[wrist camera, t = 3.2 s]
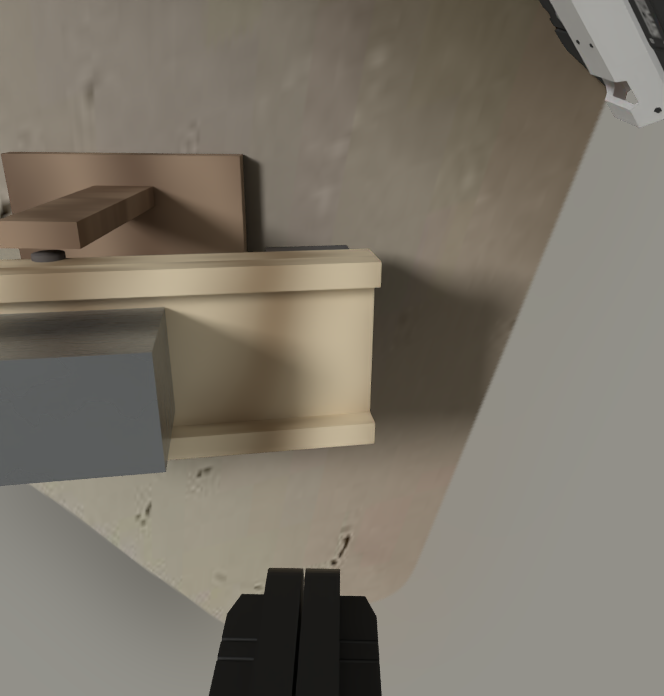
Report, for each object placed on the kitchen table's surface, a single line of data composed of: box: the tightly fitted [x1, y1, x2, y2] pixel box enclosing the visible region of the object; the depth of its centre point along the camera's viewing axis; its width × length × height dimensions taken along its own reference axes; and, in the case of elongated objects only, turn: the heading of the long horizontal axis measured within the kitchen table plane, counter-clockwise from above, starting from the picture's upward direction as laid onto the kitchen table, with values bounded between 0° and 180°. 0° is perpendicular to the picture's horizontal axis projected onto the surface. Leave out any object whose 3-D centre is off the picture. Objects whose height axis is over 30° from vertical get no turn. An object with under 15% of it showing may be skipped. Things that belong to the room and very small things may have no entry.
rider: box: [0, 307, 175, 486], centre depth 22 cm, size 6×4×4 cm
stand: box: [0, 152, 247, 259], centre depth 29 cm, size 12×14×10 cm
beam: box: [0, 245, 382, 460], centre depth 25 cm, size 25×8×8 cm, turn 90°
